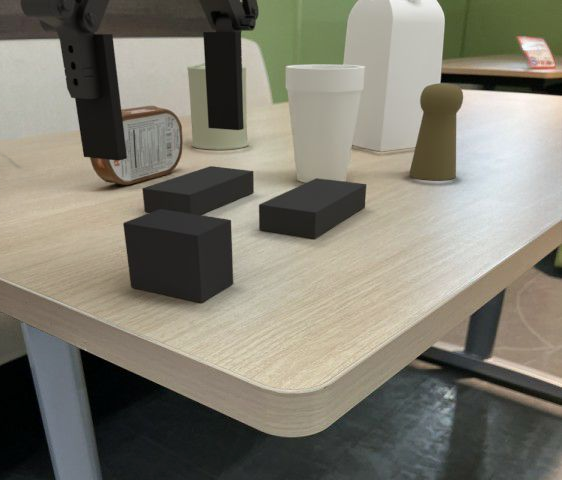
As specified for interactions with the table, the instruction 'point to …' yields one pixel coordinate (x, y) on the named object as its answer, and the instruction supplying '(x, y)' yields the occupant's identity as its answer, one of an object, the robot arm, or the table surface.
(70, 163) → the table surface
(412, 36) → the milk
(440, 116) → the olive knobbed tapered post
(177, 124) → the tin
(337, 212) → the pad pair
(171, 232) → the black rectangular block
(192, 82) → the can
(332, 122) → the foam cup
